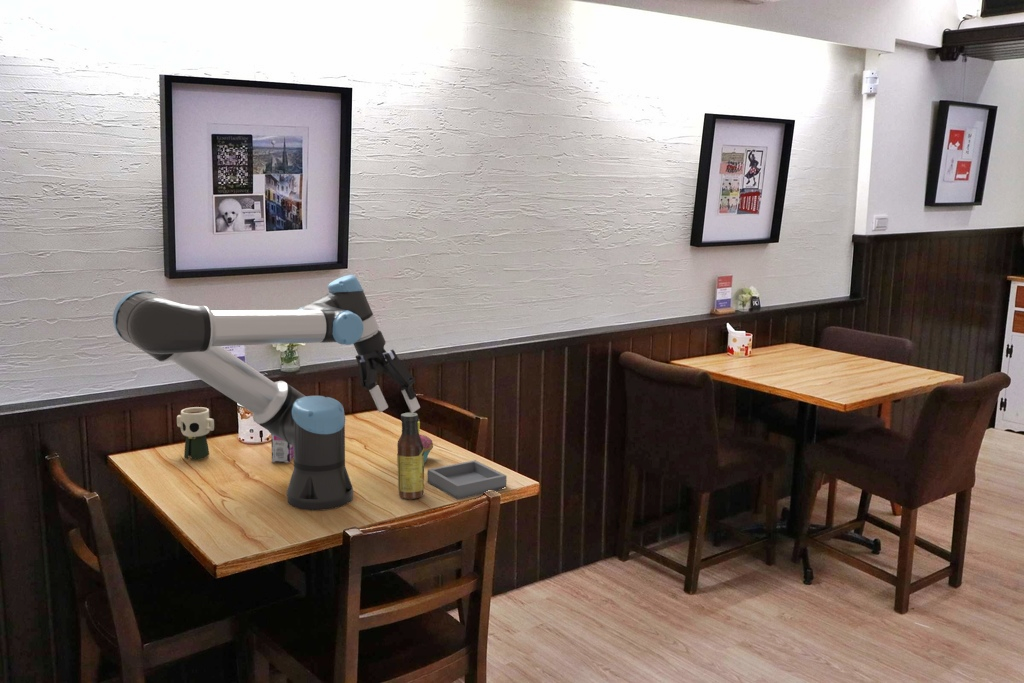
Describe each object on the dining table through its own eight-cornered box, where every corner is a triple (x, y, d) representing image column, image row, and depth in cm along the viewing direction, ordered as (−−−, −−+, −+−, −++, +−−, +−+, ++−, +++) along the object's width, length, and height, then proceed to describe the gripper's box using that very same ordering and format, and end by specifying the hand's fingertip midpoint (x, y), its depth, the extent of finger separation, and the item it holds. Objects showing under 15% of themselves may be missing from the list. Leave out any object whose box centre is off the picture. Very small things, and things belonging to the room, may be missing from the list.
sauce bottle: (429, 497, 217) (429, 416, 214) (405, 502, 214) (405, 419, 210) (415, 489, 223) (416, 409, 219) (392, 493, 219) (392, 413, 215)
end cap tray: (457, 499, 216) (457, 486, 216) (427, 482, 228) (427, 469, 227) (506, 488, 224) (506, 475, 224) (475, 472, 236) (475, 460, 235)
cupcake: (436, 464, 241) (437, 420, 239) (405, 467, 238) (405, 422, 236) (427, 454, 249) (427, 411, 247) (397, 457, 246) (396, 414, 244)
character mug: (170, 460, 240) (168, 411, 238) (187, 452, 247) (184, 405, 244) (207, 464, 237) (205, 415, 235) (222, 456, 244) (221, 408, 242)
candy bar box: (290, 463, 239) (289, 402, 236) (271, 463, 239) (269, 402, 236) (299, 450, 250) (297, 392, 247) (280, 450, 250) (279, 391, 247)
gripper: (407, 325, 222) (440, 402, 228) (349, 331, 240) (381, 402, 246) (384, 339, 217) (419, 417, 223) (327, 344, 235) (360, 416, 241)
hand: (399, 410), depth 235 cm, fingers open, 13 cm apart
